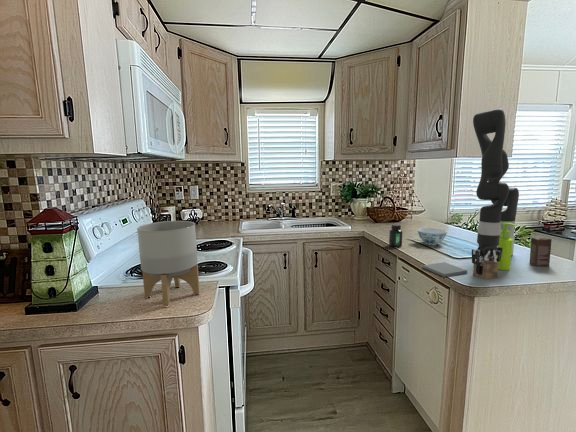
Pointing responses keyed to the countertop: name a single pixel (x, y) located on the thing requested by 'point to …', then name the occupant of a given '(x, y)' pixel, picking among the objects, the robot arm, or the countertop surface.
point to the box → (540, 251)
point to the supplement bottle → (395, 236)
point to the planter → (168, 256)
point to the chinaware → (432, 235)
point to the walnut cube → (488, 269)
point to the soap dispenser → (505, 247)
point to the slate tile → (444, 269)
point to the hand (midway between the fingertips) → (485, 273)
